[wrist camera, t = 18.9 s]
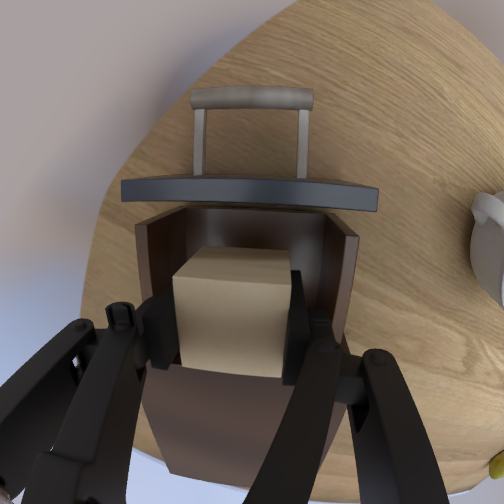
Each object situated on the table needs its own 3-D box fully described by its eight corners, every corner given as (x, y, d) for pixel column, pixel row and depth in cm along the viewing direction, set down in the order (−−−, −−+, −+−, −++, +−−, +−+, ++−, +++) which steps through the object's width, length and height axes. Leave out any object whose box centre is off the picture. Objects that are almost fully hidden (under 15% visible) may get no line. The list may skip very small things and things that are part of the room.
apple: (509, 446, 30) (519, 470, 21) (506, 446, 33) (516, 469, 24) (485, 464, 32) (495, 489, 23) (484, 463, 35) (494, 486, 27)
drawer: (174, 108, 19) (124, 84, 12) (347, 111, 18) (380, 83, 11) (183, 349, 26) (154, 403, 18) (320, 361, 25) (328, 422, 17)
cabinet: (175, 293, 25) (126, 354, 16) (335, 305, 24) (358, 377, 15) (191, 414, 30) (170, 473, 21) (307, 426, 29) (308, 489, 20)
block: (202, 245, 16) (171, 276, 11) (288, 250, 16) (291, 285, 11) (205, 319, 18) (181, 366, 13) (282, 326, 17) (281, 378, 12)
